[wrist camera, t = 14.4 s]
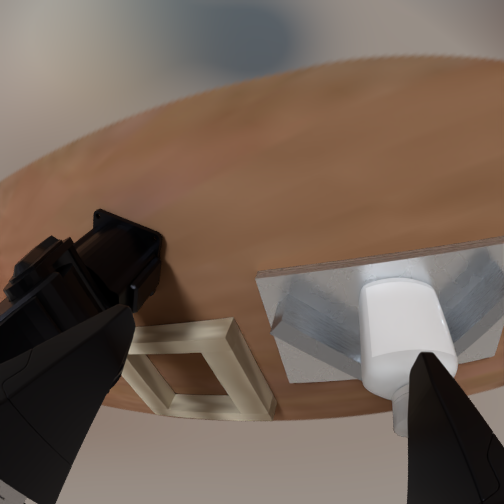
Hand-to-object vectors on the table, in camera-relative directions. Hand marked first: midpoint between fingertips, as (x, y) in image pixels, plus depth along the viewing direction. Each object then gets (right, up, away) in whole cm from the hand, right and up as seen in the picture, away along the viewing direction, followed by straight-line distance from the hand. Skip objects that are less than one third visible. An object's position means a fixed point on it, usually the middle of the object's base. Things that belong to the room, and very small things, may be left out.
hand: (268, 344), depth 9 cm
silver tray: (+11, -3, +14) cm, 18 cm away
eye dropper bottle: (+10, 0, +12) cm, 16 cm away
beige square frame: (-7, -10, +23) cm, 26 cm away
